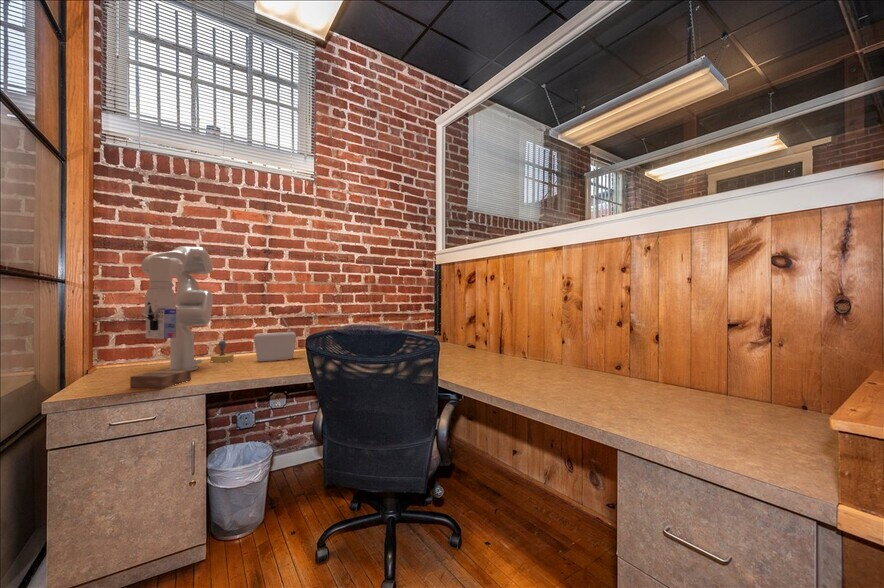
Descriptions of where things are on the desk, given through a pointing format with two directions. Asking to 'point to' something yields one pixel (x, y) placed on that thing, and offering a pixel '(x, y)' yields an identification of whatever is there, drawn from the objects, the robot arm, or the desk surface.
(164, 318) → the ink cartridge box
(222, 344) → the rubber stamp
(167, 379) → the walnut box
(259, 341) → the rounded grey case
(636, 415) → the desk surface
